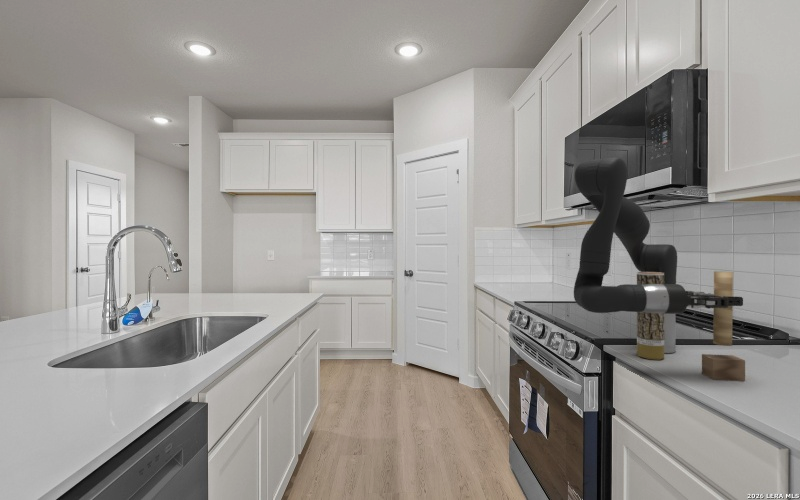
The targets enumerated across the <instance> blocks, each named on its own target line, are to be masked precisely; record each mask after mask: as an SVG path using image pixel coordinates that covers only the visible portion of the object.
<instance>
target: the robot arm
mask: <svg viewBox="0 0 800 500" xmlns="http://www.w3.org/2000/svg"><path fill="white" fill-rule="evenodd" d="M574 180H575V185H576V188H577V189H578V191H579V192H580V194H581V195H582V196H583V197H584V198H585V199H586V200H587V201H588V202H589V203H590V204H591V205H592V206H593V207H594V208H595V209H596V211H598V215H597V216H596V218H595V219H594V221H593V222H592V224H591V225H590V226H589V228H587V230H586V232H585V234H584V236H583V238H582V242H581V247H580V255H579V265H578V266H579V268H578V271H577V274H576V278H575V281H574V286H573V299H574V302H575V303H576V304H577V305H578V306H580V308H582V309H584V310H586V311H587V312H590V313H598V314H608V313H619V312H631V313H634V312H635V313H637V312H646V313H661V314H664V354H671V353H675V352H676V315H681V314H683V313H684V312H686V310H687V307H689V308H691V309H701V308H703V309H705V308H706V309H714V308H728V306H733V307H742V306H743V305H744V297H742V296H733V297H731V296H715V295H714V293H711V292H709V293H706V292H704V291H693V290H686V289H685V287H684V286H683V285H681V284H679V283H677V268H678V252H677V249H676V247H675V246H674V245H673V244H669V243H668V244H663V243H661V244H660V243H659V244H646V243H644V241H645V239H646V238H647V236H648V234H649V232H650V229H651V228H650V227H651V224H650V220H649V219H648V217H647V214H646V213H645V212H644V210H643V209H642V207H641V206H640V205H639V204H637V203H636V202H635V201H633V200H631V199H629V198H627V197H626V196H624V195H625V190H626V186H627V181H628V167H627V164H626V162H625V161H624V160H623V159H622V158H621V157H606V158H598V159H590V160H585V161H583V162H581V163H579V164H578V165H577V166H576V168H575V171H574ZM614 234H615V236H616V237H617V238H618V239H619V240H620V242H621V244H622V245H623V248H625V250H626V251H627V253H628V255H629V257H630V259H631V261H632V263H633V265H634V267H635V269H637V270H638V272H661V273H664V284H643V285H637V284H626V283H625V284H618V285H616V286H615V285H611V286H608V285H603V280H604V276H605V275H606V274H608V273H609V271H610V270H609V269H610V262H611V253H612V251H611V250H612V243H613V238H614Z"/></svg>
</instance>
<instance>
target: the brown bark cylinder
mask: <svg viewBox="0 0 800 500" xmlns="http://www.w3.org/2000/svg"><path fill="white" fill-rule="evenodd" d="M643 284H664V273H661V272H640V271H637V272H636V285H643ZM636 354H637V356H639V357H640V358H641V359H642V358H643V359H645V360H654V361H655V360H659V361H660V360H664V358H665V353H664V314H661V313H646V312H636Z"/></svg>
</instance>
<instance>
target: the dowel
mask: <svg viewBox="0 0 800 500" xmlns="http://www.w3.org/2000/svg"><path fill="white" fill-rule="evenodd" d="M733 288H734V272H732V271H717V270H715V271H714V272H713V294H714V295H715V296H731V297H734V296H733V294H734V293H733V292H734V289H733ZM733 307H734V306H728V308H713V324H712V325H713V328H712V329H713V331H712V332H713V334H712V335H713V336H712V337H713V338H712V339H713V341H712V343H713V344H714V345H718V346H725V347H726V346H727V347H728V346H729V347H732V346H733V315H734V314H733V311H734V309H733Z"/></svg>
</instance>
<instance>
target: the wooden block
mask: <svg viewBox="0 0 800 500" xmlns="http://www.w3.org/2000/svg"><path fill="white" fill-rule="evenodd" d="M701 374H702V375H703V376H706V377H708V378H709V379H711V380H714V381H715V380H716V381H718V380H719V381H739V382H746V360H745V359H743V358H740V357H737V356H736V355H733V354H711V353H710V354H706V353H702V354H701Z"/></svg>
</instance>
